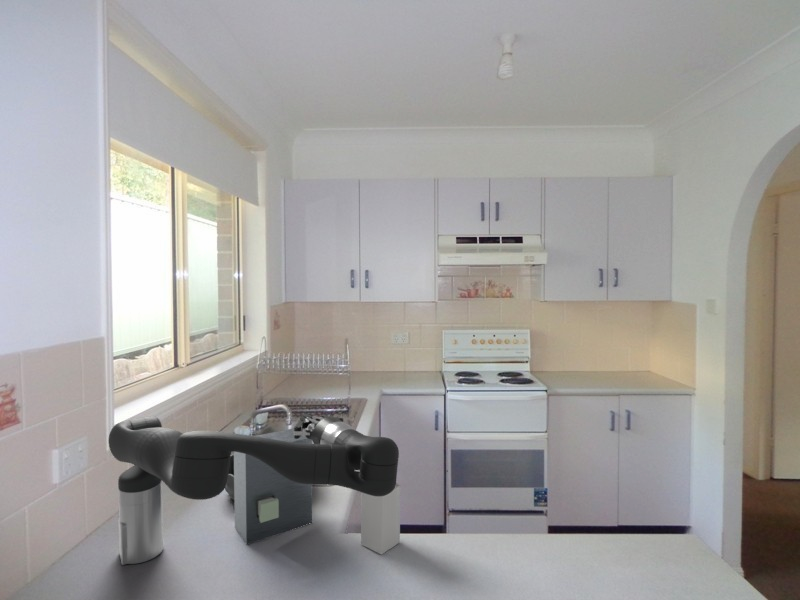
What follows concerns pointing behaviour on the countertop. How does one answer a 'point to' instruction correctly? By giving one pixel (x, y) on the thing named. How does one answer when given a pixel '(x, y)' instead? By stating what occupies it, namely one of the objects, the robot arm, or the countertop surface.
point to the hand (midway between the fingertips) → (303, 417)
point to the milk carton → (380, 520)
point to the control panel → (268, 494)
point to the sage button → (267, 509)
